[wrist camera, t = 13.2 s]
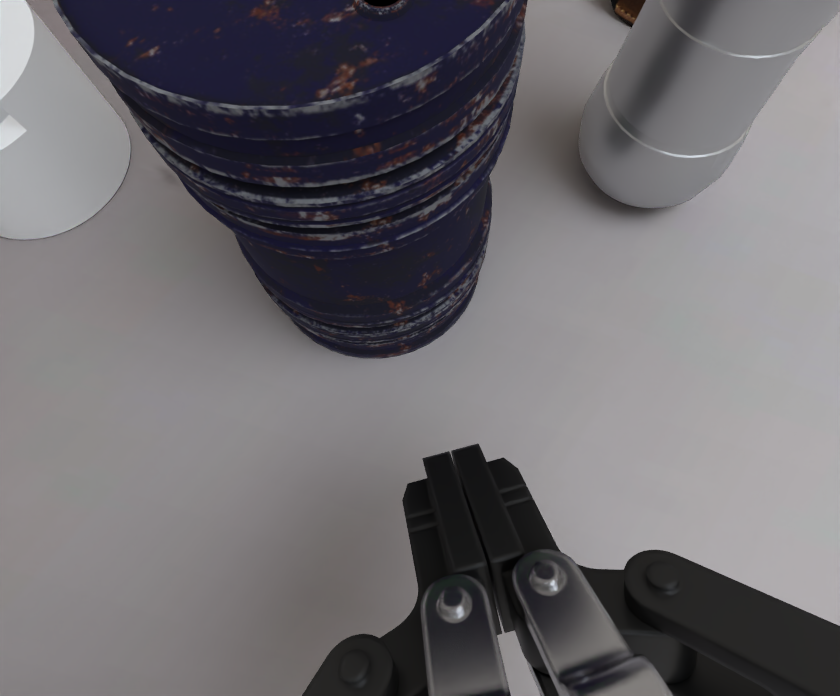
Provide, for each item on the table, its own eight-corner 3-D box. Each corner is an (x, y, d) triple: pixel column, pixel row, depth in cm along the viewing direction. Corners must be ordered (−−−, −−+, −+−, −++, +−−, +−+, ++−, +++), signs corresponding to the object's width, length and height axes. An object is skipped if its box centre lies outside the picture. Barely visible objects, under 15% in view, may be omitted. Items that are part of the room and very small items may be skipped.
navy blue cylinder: (231, 247, 25) (-48, -109, 10) (393, 135, 26) (342, -307, 12) (357, 406, 22) (215, 225, 8) (526, 272, 24) (661, -78, 10)
